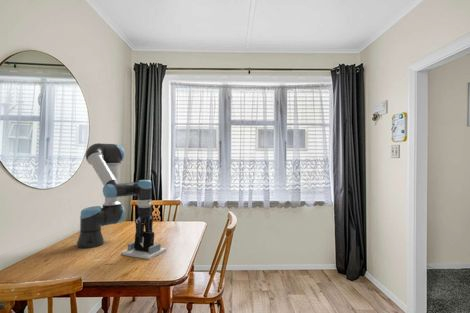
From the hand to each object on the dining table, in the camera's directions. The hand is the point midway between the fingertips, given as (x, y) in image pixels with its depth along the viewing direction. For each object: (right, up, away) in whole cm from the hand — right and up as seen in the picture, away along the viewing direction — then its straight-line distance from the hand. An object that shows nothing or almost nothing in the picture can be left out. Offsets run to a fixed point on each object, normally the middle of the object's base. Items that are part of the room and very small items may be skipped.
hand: (144, 247), depth 159 cm
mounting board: (0, -3, 0) cm, 3 cm away
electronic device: (0, -1, -1) cm, 2 cm away
